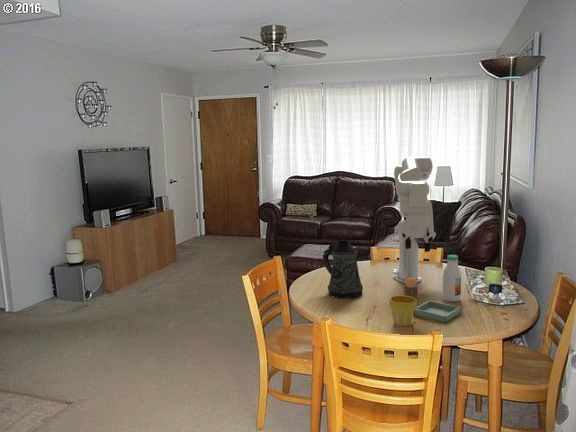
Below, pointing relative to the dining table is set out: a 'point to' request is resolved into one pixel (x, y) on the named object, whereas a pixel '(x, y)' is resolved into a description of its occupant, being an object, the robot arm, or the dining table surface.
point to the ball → (410, 283)
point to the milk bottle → (452, 280)
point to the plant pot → (402, 309)
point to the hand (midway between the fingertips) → (417, 250)
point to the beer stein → (343, 270)
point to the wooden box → (410, 292)
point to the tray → (437, 311)
